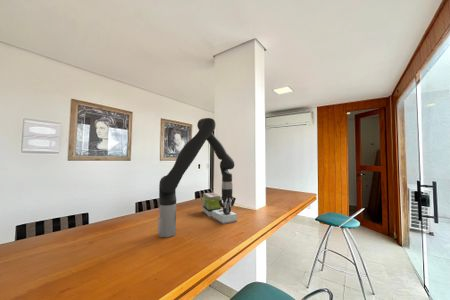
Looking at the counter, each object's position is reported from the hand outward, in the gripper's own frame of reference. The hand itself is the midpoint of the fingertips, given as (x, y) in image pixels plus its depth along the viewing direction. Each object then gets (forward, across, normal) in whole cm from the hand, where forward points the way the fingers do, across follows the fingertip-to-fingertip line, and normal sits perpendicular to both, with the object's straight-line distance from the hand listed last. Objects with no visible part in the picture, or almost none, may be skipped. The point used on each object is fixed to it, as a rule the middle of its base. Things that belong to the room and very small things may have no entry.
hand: (226, 212), depth 129 cm
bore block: (+6, 0, +4) cm, 7 cm away
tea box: (+6, -1, +22) cm, 23 cm away
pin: (+2, 0, 0) cm, 2 cm away
